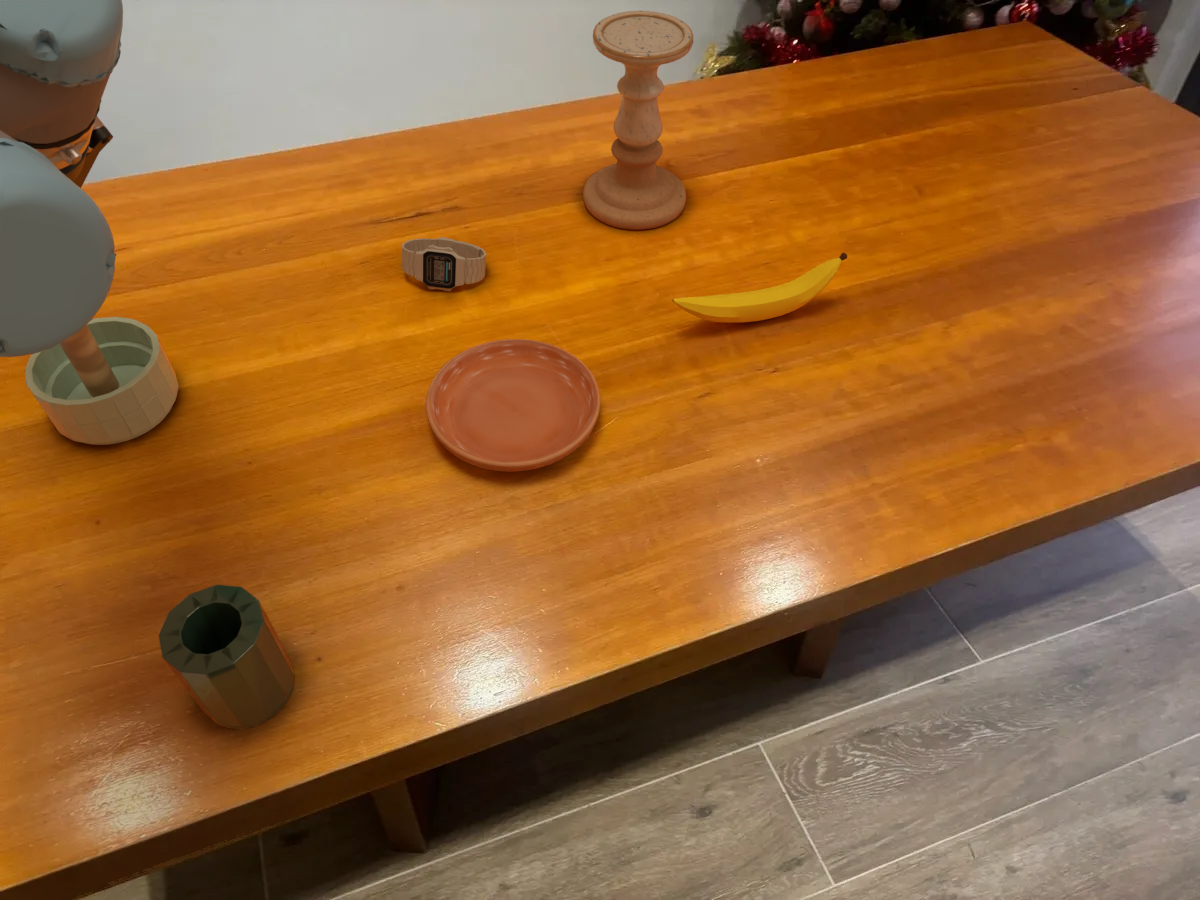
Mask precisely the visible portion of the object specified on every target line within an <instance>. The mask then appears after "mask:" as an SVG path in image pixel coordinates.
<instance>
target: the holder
mask: <svg viewBox="0 0 1200 900" xmlns="http://www.w3.org/2000/svg"><path fill="white" fill-rule="evenodd" d="M158 643H159V647H160V654H161V658H162V660H163V661H164V662H165V664H166V665H167V666H168V667H169V668H170V670H171V671H172V672H173V674H174V675H175V676H176V678H177V679H178V681H179V682H180V683H181V685H182V686H183V687H184V688H185V690H186V691H187V692H188V694H189V695H190V696H191V698H192V699H193V700H194V701H195V703H196V704H197V706H199V708H200V709H201V710H202V712H203V713H204V714H206V715H207V716H208V718H209V719H210V720H212V722H214V724H216V725H218V726H220V727H223V728H226V729H231V730H246V729H251V728H255V727H257V726H260V725H262V724H264V723H266V722H268V721H269V720H270V719H272V718H273V717H274V716H276V715H277V714H278V713H279V712H280V711H281V710H282V709H283V708H284V707H285V705H286V704H287V702H288V700H289V699H290V697H291V695H292V693H293V690H294V686H295V672H294V668H293V665H292V663H291V660H290V657H289V654H288V653H287V651H286V649H285V647H284V644H283V643H282V641H281V639H280V637H279V636H278V634H277V632H276V630H275V628H274V626H273V624H272V622H271V621H270V618H269V616H268V615H267V612H266V611H265V609H264V607H263V604H261V601H260V599H259V598H257V597H256V596H255V595H253V594H252V593H251V592H249V591H248V590H246V589H245V588H244V587H242V586H237V585H227V584H214V585H211V586H208V587H206V588H203V589H200V590H196V591H194V592H191V593H189V594H188V595H187V596H185V597H184V598H182V600H181V601H179V603H177V604H176V605H175V606H174V607H173V608H172V609H170V610H169V611H168V613H167V614H166V617H165V620H164V622H163V623H162V626H161V629H160V630H159V633H158Z"/></svg>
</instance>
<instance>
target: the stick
mask: <svg viewBox="0 0 1200 900" xmlns="http://www.w3.org/2000/svg"><path fill="white" fill-rule="evenodd" d="M60 346H61V347H62V349H63V351H64V352H65V354H66V356H67V357H68V359H69V361H70V362H71V364H72V366H73V367H74V369H75V371H76V372H77V374H78V376H79V377H80V379H81V381H82V382H83V384H84V386H85V387H86V389H87V391H88V392H89V394H90V395H91V396H92V397H97V396H101V395H104V394H108V393H110V392H112V391H114V390H116V389H118V388H119V382H118V380H117V378H116V376H115V375H114V373H113V371H112V369H111V367H110V366H109V364H108V362H107V360H106V358H105V357H104V355H103V353H102V351H101V349H100V348H99V346H98V344H97V342H96V340H95V339H94V337H93V335H92V333H91V331H90V330H89V328H88V326H87V325H86V326H85V327H84V328H82V329H81V330H80V331H78V332H77V333H76V334H74V335H73V336H71V337H70V338H68V339H67V340H65V341H63V342H62V343H60Z"/></svg>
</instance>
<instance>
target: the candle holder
mask: <svg viewBox="0 0 1200 900" xmlns="http://www.w3.org/2000/svg"><path fill="white" fill-rule="evenodd" d="M592 32H593V33H592V42H593V43H592V44H593V45H594V47H595V49H596V50H597V51H598V52H599V53H600V54H601V55H602V56H603V57H606V58H608V59H609V60H612V61H614V62H617V63H621V64H622V65H624V75H623V76H621V77H620V78H619V80H618V81H617V84H616V90H617V91H618V93H620V95H621V101H620V105H619V109H618V111H617V114H616V117H615V120H614V122H613V132H614V135H615V137H616V138H615V139H614V141H613V142H612V144H611V150H610V151H611V154H612V156H613V158H615V160H616V163H614V164H610V165H607V166H604V167H602V168H600V169H598V170H597V171H595V172H594V173H592V174H591V175H590V176H589V178H588V179H587V181H586V182H585V184H584V186H583V192H582V196H583V197H582V198H583V204H584V205H585V208H586V209H587V211H588V212H589V213H590V215H592V216H593V217H594V218H596V219H597V220H598V221H600V222H602V223H604V224H606V225H609V226H611V227H615V228H619V229H624V230H634V231H635V230H636V231H637V230H641V231H642V230H649V229H655V228H658V227H662V226H665V225H667V224H669V223H671V222H672V221H674V220H675V219H677V218H678V217H679V216H680V215H681V214H682V212H683V210H684V208H685V206H686V202H687V192H686V187H685V186H684V184H683V182H682V181H681V179H680V178H679V177H678V176H677V175H675V174H674V173H673V172H671V171H670V170H668V169H666V168H664V167H662V166H658V165H657V164H656V163H657V161H659V159H661V157H662V155H663V145H662V144H661V141H659V139H660V137H661V136H662V133H663V129H664V126H663V121H662V117H661V113H660V108H659V101H658V97H660V95H661V94H663V91H664V89H665V88H664V87H665V86H664V83H663V81H662V79H661V78H660V77H659V76H658V69H659V67H660V66H662V65H666V64H667V65H668V64H670V63H673V62H676V61H678V60H681V59H682V58H684V57H685V56H686V55H688V54H689V53H690V51H691V49H692V48H693V44H694V33H693V29H691V27H690V26H689V24H687V23H686V22H685V21H683V20H681V19H680V18H678V17H676V16H673V15H670V14H668V13H664V12H658V11H651V10H629V11H622V12H618V13H614V14H611V15H609V16H607V17H604V18H602V19H601V20H600V21H598V22H597V23H596V25H595V26H594V28H593V31H592Z"/></svg>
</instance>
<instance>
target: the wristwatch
mask: <svg viewBox="0 0 1200 900" xmlns="http://www.w3.org/2000/svg"><path fill="white" fill-rule="evenodd" d="M486 264H487V252H486V250H485V249H483V248H482V247H480V246H478V245H475V244H472V243H469V242H466V241H461V240H456V239H453V238H449V237H441V236H440V237H438V238H415V239H409V240H406V241H404V242H403V243H402V244H401V268H402V271H403V272H404V273H405V274H406V275H408V276H411V277H413V278H414V279H415V280H416V281H420V282H422V283H423V284H424V285H425V286H426V287H427V289H429V290H431V291H433V290H440V291H441V290H442V291H444V292H451V291H452V289H454V288H456V287H458V286H459V287H460V286H464V284H465V285H470V284H471V285H472V284H475V283H478V282H481V281H482V280H484V278H485V276H486V266H487V265H486Z"/></svg>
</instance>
